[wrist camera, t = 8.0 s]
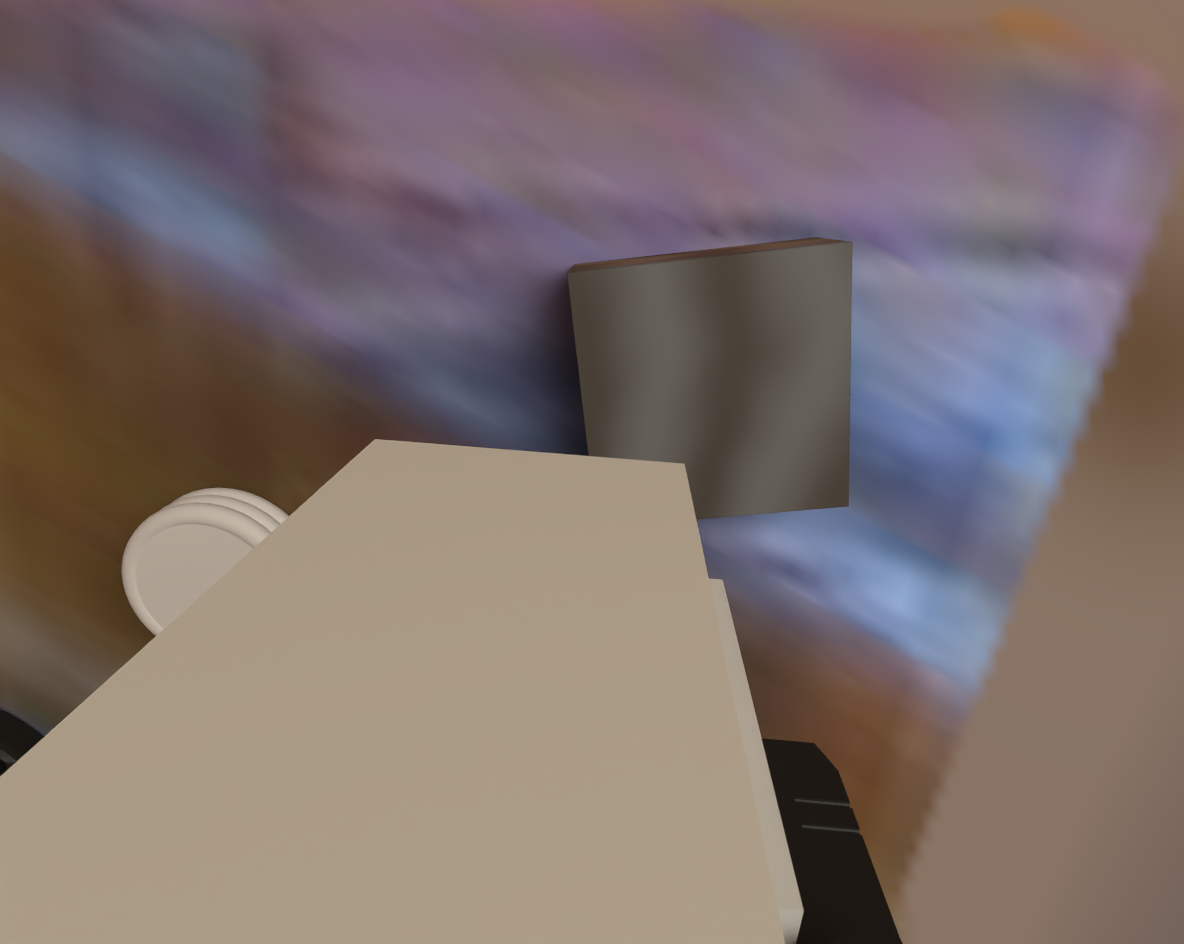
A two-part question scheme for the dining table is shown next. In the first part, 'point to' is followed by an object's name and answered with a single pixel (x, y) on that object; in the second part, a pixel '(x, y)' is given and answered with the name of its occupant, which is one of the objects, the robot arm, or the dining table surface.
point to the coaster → (191, 549)
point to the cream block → (414, 731)
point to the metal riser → (723, 370)
